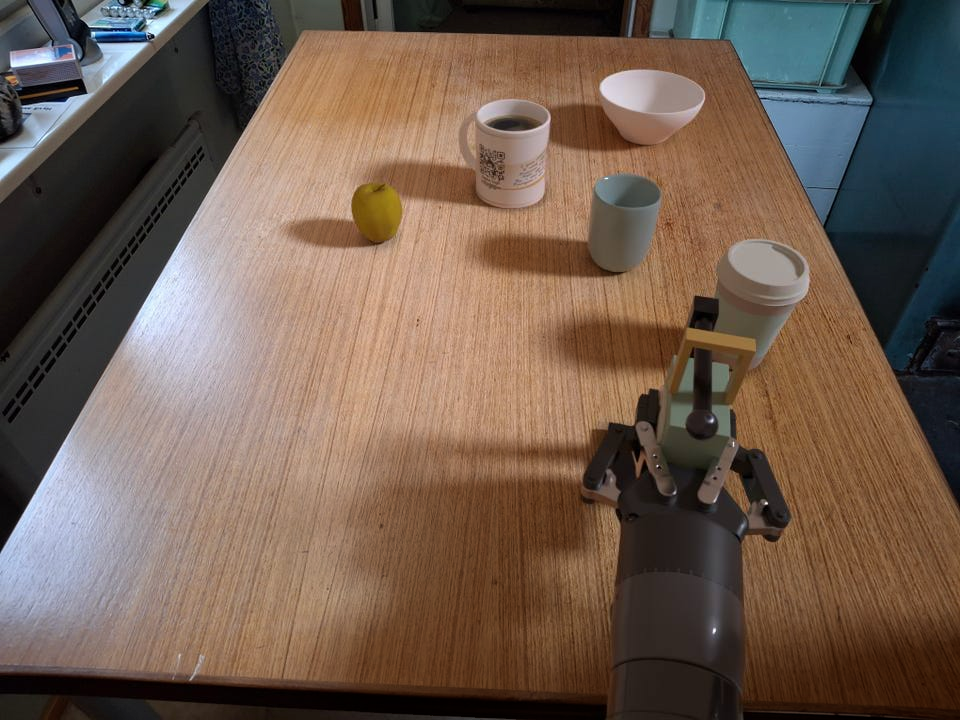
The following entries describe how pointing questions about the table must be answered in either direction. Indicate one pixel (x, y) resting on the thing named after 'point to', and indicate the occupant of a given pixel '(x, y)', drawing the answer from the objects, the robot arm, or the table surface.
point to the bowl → (649, 103)
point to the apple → (376, 211)
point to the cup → (622, 220)
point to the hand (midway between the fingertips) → (684, 402)
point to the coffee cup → (758, 293)
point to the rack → (701, 418)
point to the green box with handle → (679, 398)
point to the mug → (508, 152)
